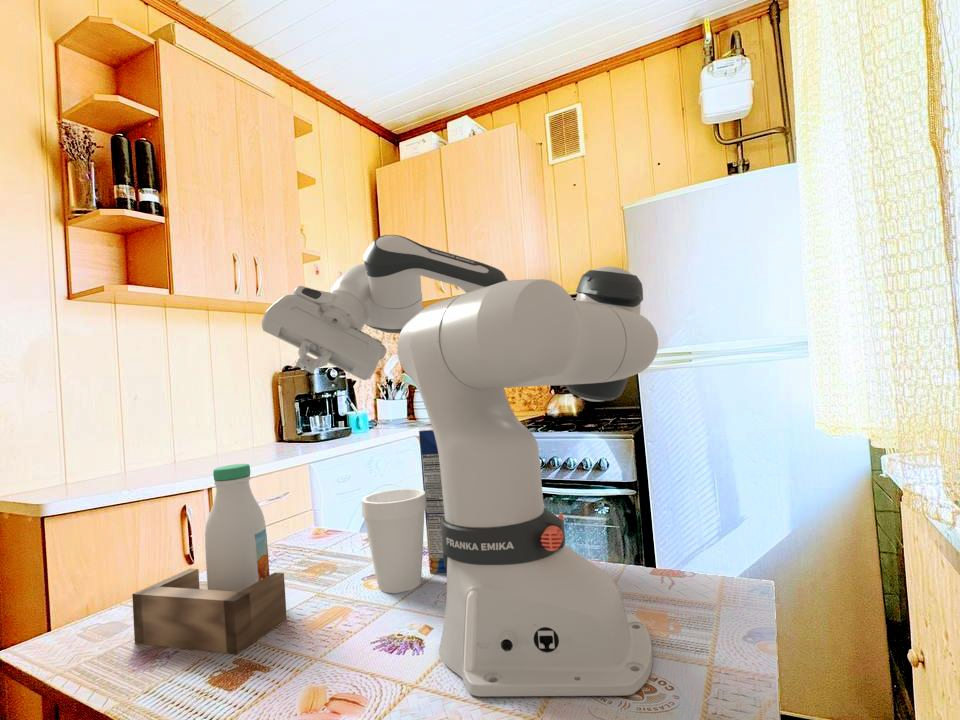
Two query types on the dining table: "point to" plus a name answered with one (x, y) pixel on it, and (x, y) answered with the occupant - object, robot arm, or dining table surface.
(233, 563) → the milk bottle
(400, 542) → the foam cup
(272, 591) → the walnut dock
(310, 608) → the dining table surface
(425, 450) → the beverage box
